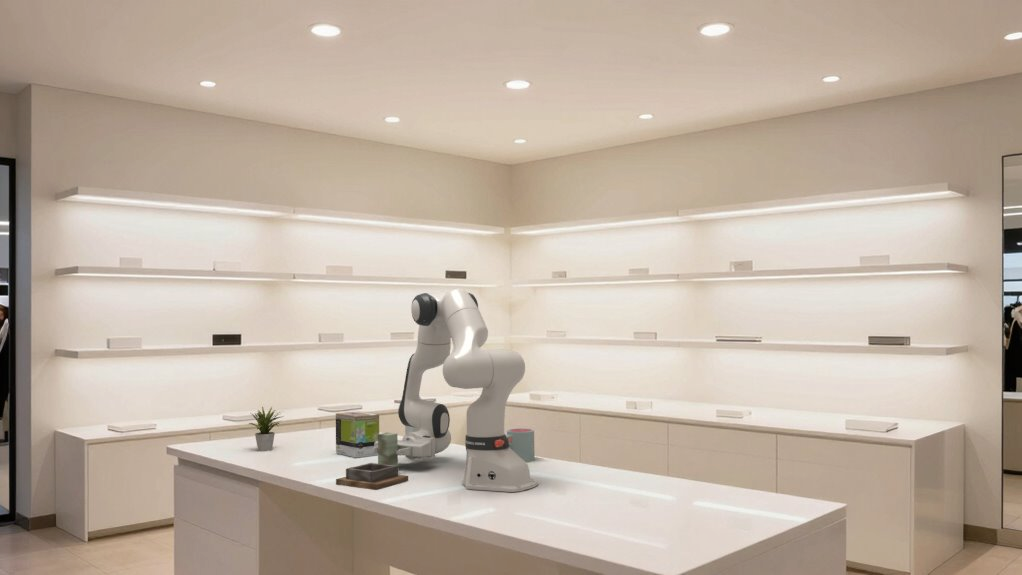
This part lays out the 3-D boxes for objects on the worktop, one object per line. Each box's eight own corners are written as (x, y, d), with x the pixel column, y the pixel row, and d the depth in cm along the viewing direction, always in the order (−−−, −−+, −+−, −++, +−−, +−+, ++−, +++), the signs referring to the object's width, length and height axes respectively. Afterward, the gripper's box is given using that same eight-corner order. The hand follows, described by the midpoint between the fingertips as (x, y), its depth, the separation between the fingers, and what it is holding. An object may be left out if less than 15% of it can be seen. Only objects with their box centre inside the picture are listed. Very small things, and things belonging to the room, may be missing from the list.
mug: (520, 456, 289) (520, 427, 289) (540, 459, 282) (539, 430, 283) (491, 462, 279) (491, 432, 280) (511, 465, 273) (510, 434, 273)
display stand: (408, 480, 251) (408, 465, 251) (376, 489, 239) (376, 473, 239) (368, 475, 260) (368, 461, 260) (336, 484, 248) (335, 468, 248)
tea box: (380, 455, 297) (380, 413, 298) (355, 458, 291) (355, 416, 291) (359, 450, 309) (358, 410, 309) (334, 453, 302) (334, 412, 303)
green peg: (397, 471, 266) (397, 433, 267) (388, 473, 263) (388, 435, 263) (387, 470, 269) (387, 432, 269) (378, 472, 265) (377, 434, 265)
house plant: (278, 453, 304) (278, 408, 305) (240, 454, 305) (240, 409, 305) (289, 447, 319) (288, 404, 319) (253, 447, 319) (252, 404, 319)
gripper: (390, 433, 283) (361, 439, 271) (438, 437, 271) (410, 443, 260) (390, 452, 282) (362, 458, 271) (438, 457, 271) (411, 464, 260)
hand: (386, 451), depth 265 cm, fingers open, 8 cm apart
